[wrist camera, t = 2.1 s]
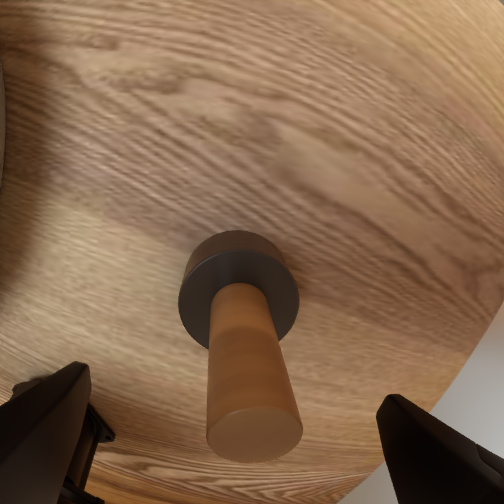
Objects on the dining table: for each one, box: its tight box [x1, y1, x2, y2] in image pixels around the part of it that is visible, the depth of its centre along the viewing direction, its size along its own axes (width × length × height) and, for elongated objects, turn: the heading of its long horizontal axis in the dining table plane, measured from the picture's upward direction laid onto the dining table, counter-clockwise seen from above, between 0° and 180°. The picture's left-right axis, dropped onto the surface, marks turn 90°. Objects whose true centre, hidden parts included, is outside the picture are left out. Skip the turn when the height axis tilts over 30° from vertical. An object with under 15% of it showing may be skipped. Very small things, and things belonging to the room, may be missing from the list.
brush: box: [178, 231, 303, 463], centre depth 12 cm, size 5×5×10 cm
